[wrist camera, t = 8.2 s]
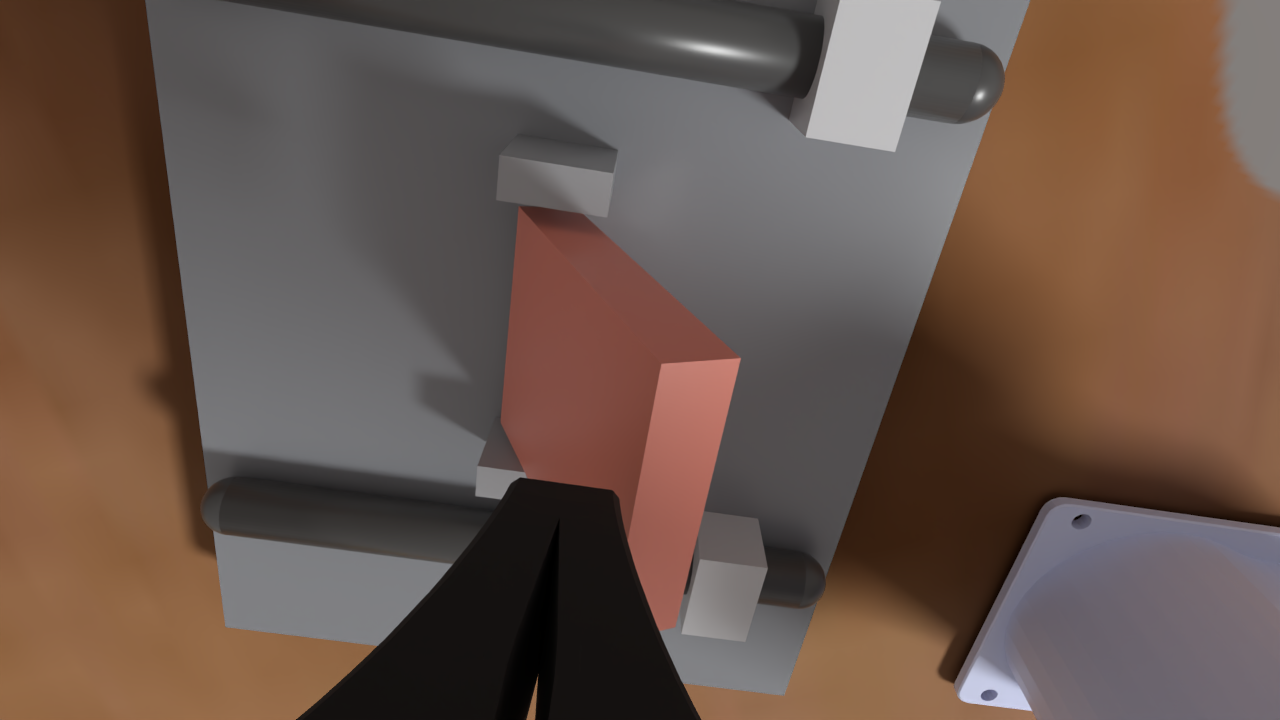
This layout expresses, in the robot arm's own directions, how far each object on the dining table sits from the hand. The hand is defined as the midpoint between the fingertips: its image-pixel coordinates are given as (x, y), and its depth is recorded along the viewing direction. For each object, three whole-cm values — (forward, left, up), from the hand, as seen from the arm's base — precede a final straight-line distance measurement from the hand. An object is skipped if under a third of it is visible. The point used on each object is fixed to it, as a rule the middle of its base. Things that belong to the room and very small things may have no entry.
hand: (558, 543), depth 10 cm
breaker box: (+1, 0, -9) cm, 9 cm away
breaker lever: (+1, 0, -6) cm, 6 cm away
